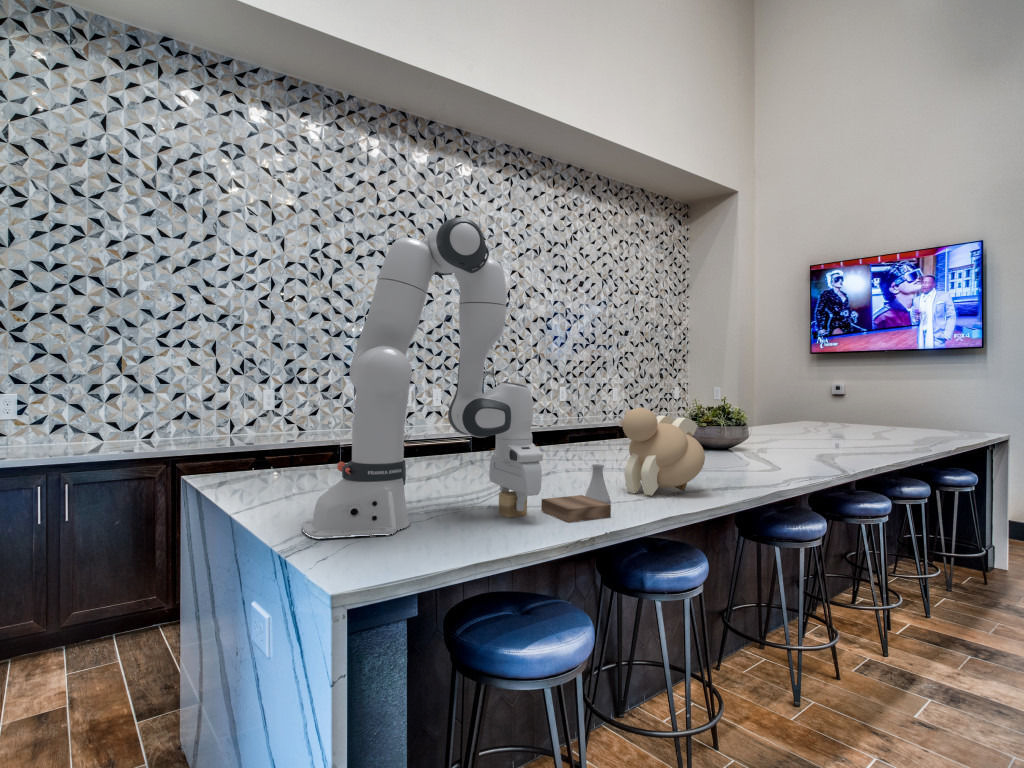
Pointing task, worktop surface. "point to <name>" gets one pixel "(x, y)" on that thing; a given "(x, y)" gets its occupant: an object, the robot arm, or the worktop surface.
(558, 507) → the walnut base
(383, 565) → the worktop surface
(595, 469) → the flask
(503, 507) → the oak cube
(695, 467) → the tan rounded figure
